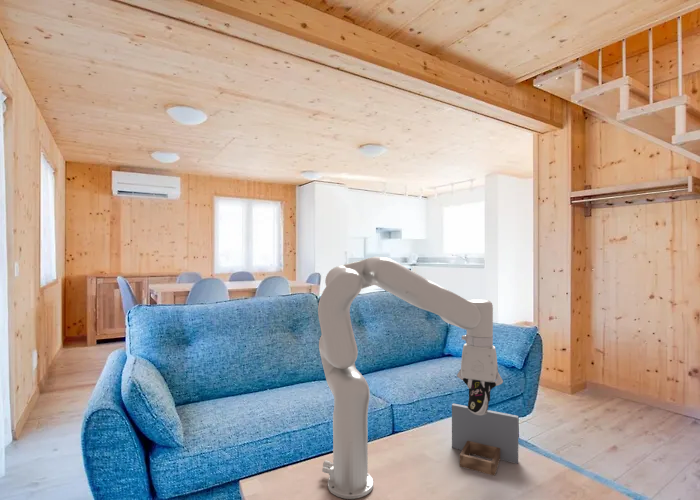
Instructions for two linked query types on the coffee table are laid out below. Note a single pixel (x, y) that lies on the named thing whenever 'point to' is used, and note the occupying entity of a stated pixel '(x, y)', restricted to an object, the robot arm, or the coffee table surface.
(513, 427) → the wall board
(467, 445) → the brown wooden open box
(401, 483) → the coffee table surface
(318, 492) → the coffee table surface
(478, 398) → the beverage can
